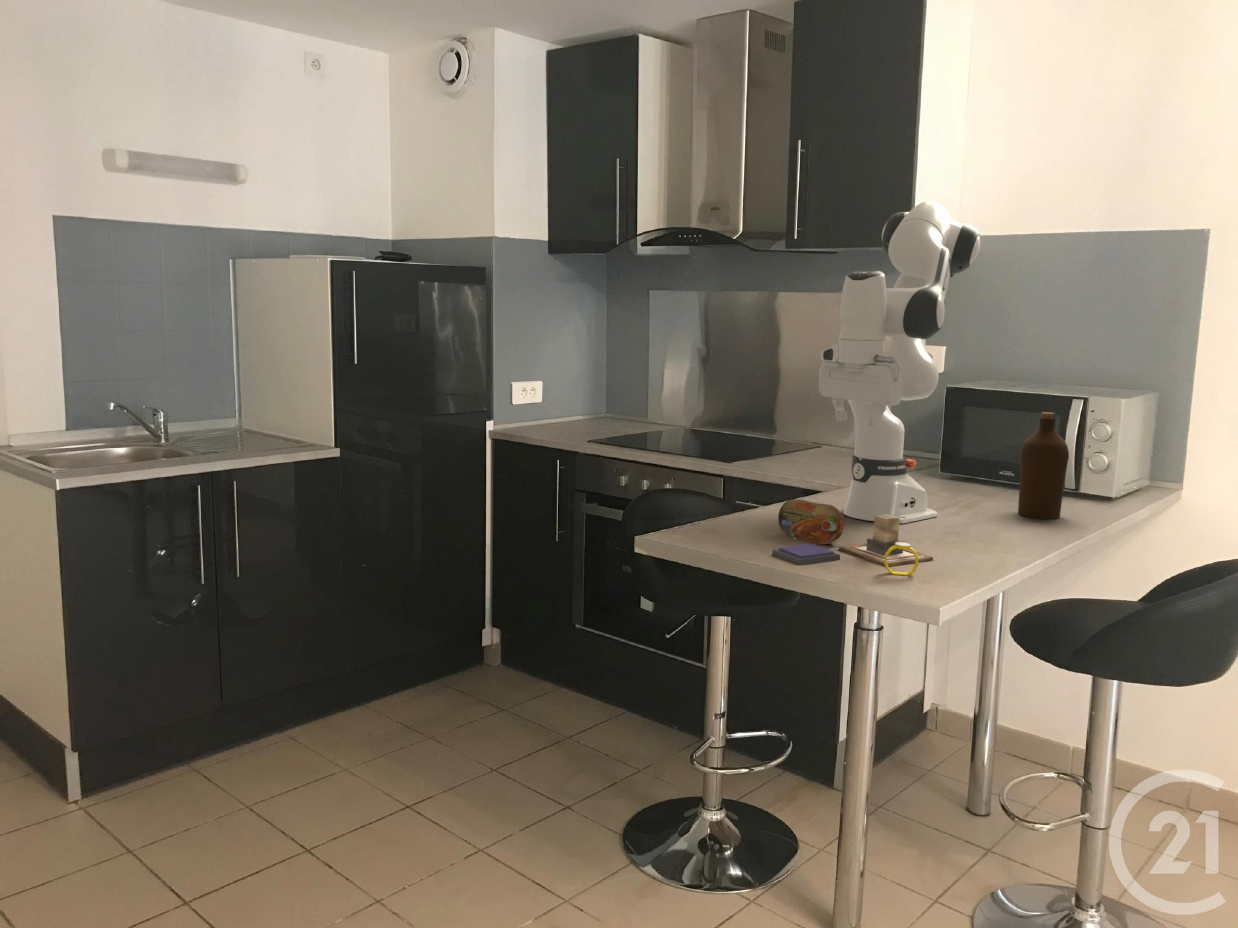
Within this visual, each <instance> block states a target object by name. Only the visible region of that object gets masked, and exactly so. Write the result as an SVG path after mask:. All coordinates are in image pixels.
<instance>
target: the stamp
mask: <svg viewBox="0 0 1238 928" xmlns="http://www.w3.org/2000/svg"><path fill="white" fill-rule="evenodd" d="M899 530H900V523H899V517H895V516H891V515H888V514H886V515H877V516H874V521H873V532H872V533H873V534H872V537H869V538H866V543H867V548H866V550H869V551H872V552H875V553H878V554H881V555H884V556H885V554H886V552H887V551H888V549H889V548H890V547H892V546H894V545H895V543H896V542H903V543H905V542H904V541H903V540H900V539H899V532H900V531H899ZM900 553H903V549H899V548H896V549H894V550H892V551H891V552H890V553H889V555H892V554H900Z"/></svg>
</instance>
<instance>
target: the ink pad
mask: <svg viewBox="0 0 1238 928" xmlns="http://www.w3.org/2000/svg"><path fill="white" fill-rule="evenodd" d="M771 551H772V552H771V555H772V554H773V555H772V556H775V555H776V556H775V557H777V558H779V559H782V558H783V559H782V560H785V561H787V562H790V563H793V564H796V565H799V566H801V565H809V564H816V563H817V564H818V563H823V562H824V563H826V562H833V561H839V560H841V554H840V553H836V552H835V551H833V550H830V549H826V548H824V547H821V546H818V545H815V544H814V543H804V544H797V545H790V546H780V547H778V548H774V549H772V550H771Z"/></svg>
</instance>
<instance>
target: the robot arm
mask: <svg viewBox="0 0 1238 928" xmlns="http://www.w3.org/2000/svg"><path fill="white" fill-rule="evenodd" d="M951 218H952V217H951V216H950V212H949V211H948V210H947V208H946V207H945V206H943V205H942V204H941V203H938V202H936V201H923V202H920V203H919V204H917V205H915V206H914V207H913V208H912V209H911V210H909V211H900V212H899V211H898V212H895V213H894V214H892V215H891V216H889V218H888V220H887V221H886V223H885V224H884V226H883V228H882V232H881V247H882V249H883V251H884V253H886V254H887V255H888V257H889V260H890V263H891V264H892V266H893V267H894V268H895V269H896V270H897V271H898V272H899V273H900V275H899V276H898V279H896V282H895V283H894V285H893V287H892V288H889V287H887V281H886V276H885V273H883V271H880V270H875V269H869V270H868V269H866V270H865V269H864V270H863V269H862V270H856V271H852V272H850V273H848V274H847V275H846V276H845V278H844V282H843V284H842V285H843V287H842V291H841V299H840V309H839V311H840V312H839V319H840V323H841V329H840V333H839V336H838V343H837V344H834V345H831V346H830V347H828V348H825V349H823V350H821V351H820V360H821V361H822V363H821V364H820V367H819V376H818V389H819V390H818V391H819V393H820V395H821V396H823V397H828V398H832V400H831V401H832V406H833V408H834V411H835V420H836V421H840V422H845V421H847V420H848V411H846V410H845V407H844V404H845V401H846V400H847V402H848V405H849V406H850V409H851V411H852V416H853V419H854V436H855V437H854V454H853V455H852V457H851V458H852V460H851V473H852V474H851V475H852V476H851V481H850V486H849V492H848V495H847V496H848V497H847V501H846V504H845V507H844V510H843V515H846V516H847V517H850V518H852V519H858V520H862V521H870V522H871V521H872V522H874V516H877V515H886V514H888V515H891V516H895V517H899V524H907V523H908V524H909V523H912V522H917V521H921V520H926V519H931V518H935V517H938V512H937V511H936V510H934V509H931V508H929V507H928V496H927V491H926V489H925V488H924V487H922V486H921V485H920V484H919V483H918V482H917V481H916V480H914V478H913V477H912V476H910V474H908V468H910V469H915V467H917V466H916V465H917V462H916V460H915V459H910V458H907V459H905V458H904V457H903V456H904V445H905V444H904V443H905V426H904V423H903V422H902V421H901V419H900V418H899V417H897V416H895V415H894V414H893V413H892V412H891V410H890V408H889V407H890V406H898V405H899V404H900V402H901V401H916V400H923V399H927V398H928V397H930V396H931V395H932V394H933V393H934V391H935V390H936V388H937V387H938V386H937V385H938V383H939V375H940V372H939V368H938V366H937V364H936V362H935V360H934V359H933V358H932V357H931V356H930V355H929V353H928V350H927V346H926V343H927V342H926V340H929V339H930V338H932V337H933V336H935V335H936V334H937V333H938V332H939V331H941V329H942V328H943V324H944V320H945V314H946V312H945V311H946V308H945V305H946V300H947V299H946V298H947V295H948V290H949V284H950V279H951V278H953V277H954V276H955V274H960V273H962V272H964V271H965V270H966V269H969V268H970V267H971V266H972V264H973V262H974V261H976V259H977V257H978V255H979V252H980V250H981V234H980V231H979V229H978V228H977V227H975V226H973V225H970V224H969V223H961V222H958V221H956V220H953V219H951ZM886 339H887V340H888V341H889V342H890V346H889V348H888V349H887V350H885V344H886V343H885V342H886ZM888 406H889V407H888Z"/></svg>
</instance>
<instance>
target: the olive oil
mask: <svg viewBox="0 0 1238 928" xmlns="http://www.w3.org/2000/svg"><path fill="white" fill-rule="evenodd" d="M1056 415H1057V414H1056V413H1055V412H1051V411H1050V412H1049V411H1048V412H1047V411H1046V412H1045V411H1041V414H1040V416H1041V417H1040V419H1039V427H1038V428H1037V430H1036V431H1034V432H1033V433H1032V434H1031V435H1030V436H1029V437H1028V438H1026V439H1025V441H1024V442H1023V443H1022V446H1021V449H1020V462H1019V463H1020V464H1019V465H1020V466H1019V467H1020V468H1019V470H1020V471H1019V490H1018V491H1019V493H1018V504H1017V505H1018V507H1017V513H1018V514H1019V515H1021V516H1022V517H1023V516H1024V517H1026V518H1033V519H1040V520H1054V519H1055V520H1056V519H1059V518H1060V516H1061V510H1062V504H1063V497H1064V496H1063V494H1064V490H1065V489H1064V488H1065V482H1066V476H1067V469H1068V463H1069V458H1070V455H1069V454H1070V452H1069V447H1068V445H1067V442H1066V441H1065V440H1064V439H1063V437H1062V436H1061V435H1060V434H1059V432H1057V430H1056V427H1055V426H1056Z"/></svg>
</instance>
